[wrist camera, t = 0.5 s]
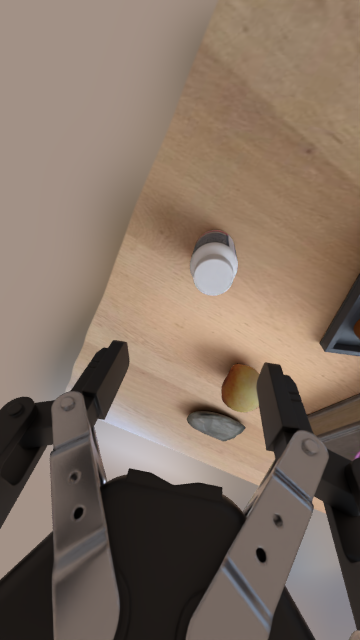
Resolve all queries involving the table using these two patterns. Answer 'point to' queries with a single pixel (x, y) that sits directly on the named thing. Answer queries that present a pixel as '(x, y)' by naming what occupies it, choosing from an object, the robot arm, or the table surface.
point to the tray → (345, 326)
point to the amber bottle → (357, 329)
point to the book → (339, 427)
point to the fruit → (241, 388)
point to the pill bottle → (214, 262)
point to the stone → (215, 425)
